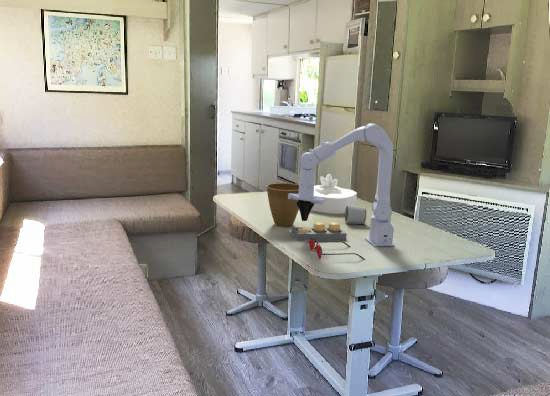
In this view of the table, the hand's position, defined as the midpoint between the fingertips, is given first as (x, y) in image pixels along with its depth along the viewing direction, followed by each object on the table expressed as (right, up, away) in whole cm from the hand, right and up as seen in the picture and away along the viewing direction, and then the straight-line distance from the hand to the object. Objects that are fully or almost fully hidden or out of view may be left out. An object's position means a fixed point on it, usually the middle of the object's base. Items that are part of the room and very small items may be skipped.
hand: (304, 220), depth 190 cm
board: (+5, -6, +4) cm, 9 cm away
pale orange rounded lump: (0, -6, +1) cm, 6 cm away
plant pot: (-8, -3, +17) cm, 19 cm away
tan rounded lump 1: (+6, -4, +2) cm, 7 cm away
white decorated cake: (+14, +4, +53) cm, 55 cm away
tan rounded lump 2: (+11, -4, +3) cm, 13 cm away
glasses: (+10, -11, -16) cm, 22 cm away
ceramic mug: (+22, -2, +25) cm, 34 cm away
